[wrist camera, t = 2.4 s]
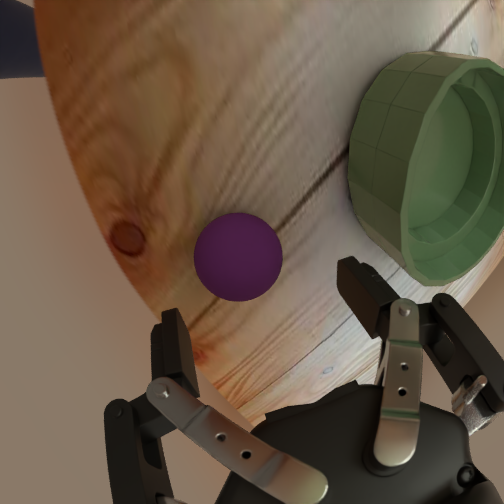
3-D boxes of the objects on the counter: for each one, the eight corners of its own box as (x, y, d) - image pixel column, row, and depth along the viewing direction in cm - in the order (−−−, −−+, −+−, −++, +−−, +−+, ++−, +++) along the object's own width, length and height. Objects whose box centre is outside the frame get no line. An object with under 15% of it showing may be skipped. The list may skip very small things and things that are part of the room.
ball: (173, 238, 17) (178, 290, 13) (233, 182, 16) (257, 220, 12) (226, 279, 20) (243, 332, 16) (281, 233, 19) (312, 278, 15)
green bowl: (295, 128, 16) (353, 153, 11) (446, 24, 13) (505, 29, 8) (387, 277, 25) (424, 318, 20) (487, 174, 22) (527, 198, 18)
